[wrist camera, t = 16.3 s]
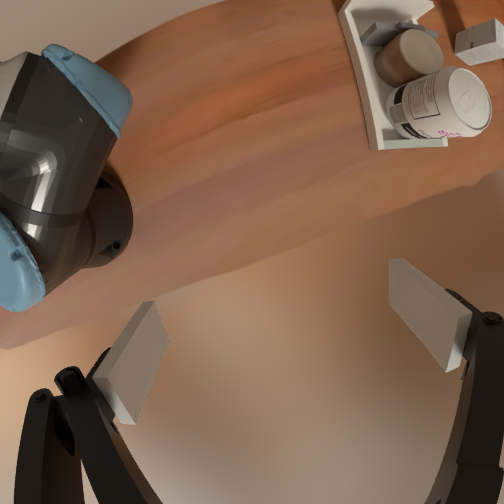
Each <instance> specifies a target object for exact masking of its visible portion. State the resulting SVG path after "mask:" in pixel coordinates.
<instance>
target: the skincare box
mask: <svg viewBox="0 0 504 504" xmlns="http://www.w3.org/2000/svg"><path fill="white" fill-rule="evenodd" d="M454 53H455V55H456V56H458V57H459V58H460V59H461V60H462V61H464V62H465V63H466V64H468V65H469V66H471V65H475V64H479V63H483V62H488V61H492V60H496V59H501V58H504V26H503V25H502V24H501V23H500V22H499V21H498V20H496V19H495V18H494V19H492V20H489V21H486V22H484V23H481V24H478V25H476V26H473V27H471V28H469V29H466V30H464V31H461V32H459V33H457V34H456V41H455V50H454Z"/></svg>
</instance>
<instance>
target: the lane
mask: <svg viewBox="0 0 504 504" xmlns="http://www.w3.org/2000/svg"><path fill="white" fill-rule="evenodd" d="M433 7H435V6H434V4H433V2H432V1H429V0H346V1H345V3H344V4H343V6H342V7H341V9H340V11H339V12H338V14H337V15H338V18H339V21H340V24H341V27H342V30H343V33H344V36H345V40H346V43H347V46H348V50H349V53H350V57H351V61H352V64H353V68H354V72H355V76H356V80H357V84H358V89H359V93H360V98H361V102H362V107H363V112H364V117H365V122H366V128H367V134H368V140H369V146H370V150H381V149H395V148H414V147H446V146H448V142H447V137H444V138H427V139H409V138H406V137H403V136H402V135H401V134H400V133H398V132H397V131H396V130H395V129H394V127H393V126H392V124H391V123H390V120H389V118H388V115H387V107H386V103H387V99H388V96H389V94H390V93H391V92H392V91H393V89H396V88H394V87H392V86H390V85H388V84H387V83H385V82H384V81H383V80H382V79H381V78H380V77H379V75H378V74H377V72H376V70H375V67H374V56H375V54H376V52H377V51H378V50H380V49H381V48H382V47H379V46H362V44H361V41H360V37H361V36H362V35H363V34H364V33H365V32H366V30H367V29H368V28H369V27H370V26H371V25H372V24H373V23H374V22H382V23H391V24H398V23H399V22H406V23H411V24H417V25H418V23H417V19H418V18H419V17H421V16H422V15H423V14H425V13H426V12H428V11H429V10H430V9H432V8H433Z"/></svg>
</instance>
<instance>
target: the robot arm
mask: <svg viewBox="0 0 504 504" xmlns="http://www.w3.org/2000/svg"><path fill="white" fill-rule="evenodd" d="M41 54H42V55H41V56H39V55H36V54H33V53H29V52H27V51H25V52H23V53H21V54H19V55H17V56H15V57H13V58H11V59H10V60H7V61H4V62H0V306H1V307H3V308H4V309H7V310H9V311H13V312H18V311H24V310H26V309H28V308H30V307H31V306H33V305H35V304H36V303H39V302H41V301H42V300H43V298H44V297H45V296H46V295H47V294H49V293H50V292H51V291H52V290H54V289H55V288H56V287H58V286H59V285H60V284H61V283H63V282H64V281H65V280H67V279H68V278H69V277H71V276H72V275H73V274H75V273H76V272H77V271H79V270H80V269H82V268H94V267H100V266H103V265H105V264H108V263H109V262H111V261H112V260H114V259H115V258H116V257H117V256H119V255H120V254H121V253H122V252H123V250H124V249H125V248H126V246H127V244H128V242H129V240H130V237H131V233H132V228H133V213H132V207H131V204H130V201H129V198H128V196H127V194H126V192H125V190H124V189H123V187H122V186H121V185H120V184H119V182H118V181H117V180H116V179H114V178H113V177H112V176H110V175H108V174H106V173H104V172H102V171H103V168H104V166H105V164H106V162H107V159H108V157H109V155H110V153H111V151H112V149H113V147H114V145H115V143H116V141H117V139H119V138H120V136H121V133H120V131H121V129H122V127H123V125H124V123H125V121H126V119H127V116H128V114H129V112H130V110H131V108H132V104H133V98H132V94H131V92H130V91H129V89H128V88H127V87H126V86H125V85H124V84H123V83H122V82H120V81H119V80H118V79H117V78H115V77H114V76H113V75H111V74H110V73H108V72H107V71H106V70H104V69H103V68H101V67H100V66H98V65H96V64H95V63H93V62H91V61H90V60H88V59H86V58H85V57H83V56H81V55H79V54H75V53H74V52H72V51H70V50H68V49H66V48H65V47H62V46H60V45H57V44H51V45H48V46H47V47H46V48H45V49H43V50H42V52H41ZM389 304H390V305H391V307H392V308H393V309H394V310H395V311H396V312H397V313H398V315H399V316H400V317H401V318H402V319H403V320H404V321H405V323H406V324H407V325H408V326H409V328H410V329H411V330H412V331H413V332H414V333H415V335H416V336H417V337H418V338H419V339H420V341H421V342H422V343H423V344H424V346H425V347H426V348H427V349H428V351H429V352H430V353H431V354H432V355H433V357H434V358H435V359H436V360H437V362H438V363H439V364H440V366H441V367H442V368H443V369H444V371H445V372H448V371H450V370H453V369H455V368H457V367H459V365H460V362H461V358H462V356H463V357H464V358H465V359H466V360H467V362H466V365H465V368H464V371H463V375H462V378H461V380H463V382H462V388H461V393H460V398H459V403H458V407H457V412H456V416H455V420H454V424H453V428H452V431H451V435H450V438H449V442H448V445H447V448H446V452H445V454H444V457H443V461H442V463H441V466H440V469H439V471H438V474H437V477H436V479H435V482H434V484H433V487H432V489H431V492H430V494H429V496H428V498H427V500H426V502H425V504H497V500H498V497H499V493H500V489H501V486H502V481H503V476H504V470H503V468H500V467H499V460H500V455H501V449H502V443H503V436H504V319H503V317H502V316H501V315H499V314H497V313H495V312H483V313H482V312H480V311H479V310H478V309H477V308H475V307H474V306H473V305H472V304H470V303H469V302H467V301H466V300H465V299H464V298H462V297H461V296H460V295H459V294H458V293H456V292H454V291H452V290H449V289H443V288H441V287H440V286H439V285H437V284H436V283H435V282H434V281H432V280H431V279H430V278H428V277H427V276H425V275H424V274H423V273H422V272H420V271H419V270H418V269H416V268H415V267H413V266H412V265H411V264H409V263H408V262H407V261H405V260H404V259H402V258H401V257H400V258H395V259H390V260H389ZM168 343H169V339H168V337H167V333H166V331H165V328H164V326H163V323H162V320H161V317H160V314H159V311H158V309H157V306H156V303H155V300H154V301H147V302H143V303H142V304H141V305H140V307H139V309H138V310H137V311H136V313H135V314H134V316H133V317H132V318H131V320H130V321H129V322H128V324H127V325H126V327H125V328H124V330H123V331H122V333H121V334H120V336H119V337H118V339H117V340H116V342H115V343H114V345H113V346H112V347H110V348H108V349H107V350H105V351H104V352H103V353H102V354H101V356H100V357H99V358H98V361H97V362H96V363H95V364H94V367H92V369H91V370H90V372H89V373H88V375H87V377H86V378H84V376H83V374H82V373H81V371H80V369H79V368H78V367H76V366H71V367H67V368H64V369H63V370H61V371H60V372H59V373H58V374H57V375H56V376H55V379H54V382H55V383H56V385H57V386H58V388H59V390H60V391H61V393H62V394H63V395H60V396H53V394H52V393H51V391H50V390H49V389H46V388H44V389H40V390H37V391H35V392H34V393H33V394H32V395H31V397H30V399H29V402H28V406H27V411H26V415H25V419H24V425H23V429H22V434H21V440H20V446H19V452H18V460H17V467H16V477H15V488H14V504H85V501H84V492H83V483H82V472H81V460H82V463H83V466H84V468H85V471H86V474H87V476H88V479H89V481H90V484H91V486H92V489H93V491H94V493H95V495H96V498H97V500H98V502H99V504H163V503H162V502H161V500H160V499H159V498H158V496H157V495H156V493H155V492H154V490H153V489H152V487H151V486H150V484H149V483H148V481H147V480H146V478H145V477H144V475H143V473H142V472H141V470H140V469H139V467H138V465H137V463H136V462H135V460H134V458H133V457H132V455H131V453H130V451H129V450H128V448H127V446H126V444H125V442H124V440H123V439H122V437H121V435H120V433H119V431H118V429H117V427H116V425H115V424H114V422H113V419H114V417H115V415H116V416H117V418H118V419H119V421H120V422H121V423H122V424H134V425H136V423H137V421H138V418H139V415H140V413H141V410H142V408H143V405H144V403H145V400H146V397H147V395H148V392H149V390H150V387H151V385H152V382H153V380H154V377H155V375H156V372H157V370H158V367H159V365H160V362H161V360H162V358H163V355H164V353H165V350H166V348H167V346H168Z"/></svg>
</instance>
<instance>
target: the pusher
mask: <svg viewBox="0 0 504 504" xmlns="http://www.w3.org/2000/svg"><path fill="white" fill-rule="evenodd" d="M410 29H418V30H421V31H423V32H425V33H427V34H428V35H430V36H431V37H432V38H433V39H434V40H435V39H437V38H439V37H438V34H437V32H436V31H431V30H427V29H425V27H424V26H422V25H417V24H411V23H406V22H399V23H398V24H391V23H382V22H374V23H373V24H372V25H371V26H370V27H369V28H368V29H367V30H366V32H365V33H364V34H363V35H362V36H361V37H360V41H361V44H362V46H379V47H384V46H385V45H386V44H387V43H389V42H390V41H391V40H393V39H394V38H395V37H397V36H398V35H399V34H401V33H402V32H403V31H406V30H410Z"/></svg>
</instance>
